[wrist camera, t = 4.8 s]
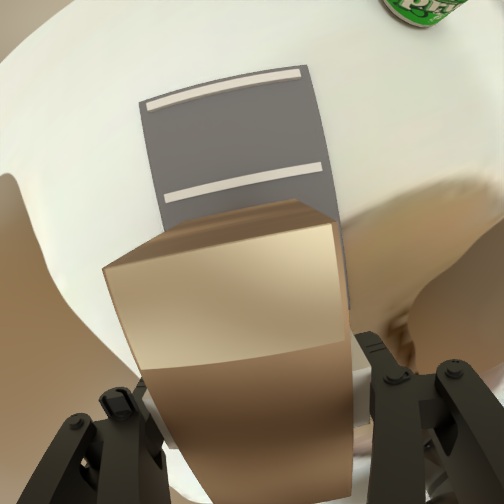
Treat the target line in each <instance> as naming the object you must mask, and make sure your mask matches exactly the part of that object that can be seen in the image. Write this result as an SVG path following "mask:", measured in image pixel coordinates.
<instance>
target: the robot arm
mask: <svg viewBox="0 0 504 504" xmlns="http://www.w3.org/2000/svg"><path fill="white" fill-rule="evenodd" d="M350 338H351V354H352V374H353V419H354V428H355V427H359V426H362V425H366V424H370V415H371V417H372V419H373V422H374V426H373V439H372V442H373V443H372V456H371V468H370V478H369V486H368V495H367V502H366V504H504V407H503V406H502V405H501V403H500V402H499V401H498V399H497V398H496V397H495V396H494V394H493V393H492V392H491V390H490V389H489V388H488V387H487V385H486V384H485V383H484V382H483V380H482V379H481V378H480V377H479V375H478V374H477V373H476V372H475V371H474V370H473V368H472V367H471V366H470V365H469V364H468V363H467V362H465V361H462V360H456V359H452V360H447V361H445V362H443V363H441V364H440V365H439V366H438V367H437V371H436V374H427V375H414V374H413V372H412V371H411V370H410V369H408V368H406V367H403V366H399V365H398V363H397V362H396V360H395V359H394V357H393V356H392V354H391V353H390V351H389V350H388V349H387V347H386V346H385V344H384V343H383V341H382V340H381V338H380V337H379V336H378V335H377V334H375V333H373V332H371V331H368V332H364V333H360V334H356V335H353V333H352V331H351V329H350ZM99 402H100V403H101V406H102V407H103V409H104V411H105V413H106V414H107V416H108V419H105V420H100V421H94V422H93V421H92V419H91V418H90V416H89V415H88V414H85V413H77V414H74V415H71V416H70V417H69V418H67V419H66V420H65V422H64V423H63V425H62V426H61V428H60V429H59V431H58V433H57V434H56V436H55V437H54V439H53V441H52V442H51V444H50V446H49V447H48V449H47V451H46V452H45V454H44V455H43V457H42V459H41V461H40V462H39V464H38V466H37V467H36V469H35V471H34V473H33V474H32V476H31V478H30V480H29V482H28V483H27V485H26V487H25V489H24V490H23V492H22V494H21V496H20V498H19V500H18V502H17V503H16V504H171V499H170V491H169V483H168V474H167V465H166V455H165V453H164V451H163V449H162V444H163V441H165V442H166V444H167V446H168V447H169V449H178V447H177V445H176V443H175V442H174V440H173V438H172V436H171V434H170V433H169V431H168V429H167V427H166V425H165V423H164V421H163V419H162V417H161V415H160V414H159V412H158V410H157V408H156V406H155V404H154V401H153V399H152V397H151V395H150V393H149V391H148V389H147V387H146V385H145V382H144V380H143V378H142V377H141V379H140V382H138V384H137V386H136V388H135V390H134V391H133V393H131V391H130V390H129V389H128V388H125V387H116V388H112V389H110V390H108V391H106V392H104V393H103V394H102V395H101V396H100V398H99ZM83 458H84V459H85V460H86V462H87V464H86V465H85V467H84V466H83V465H82V464H81V461H82V459H83ZM425 489H426V490H427V492H428V494H429V497H430V499H431V500H429V501H427V502H426V496H425Z"/></svg>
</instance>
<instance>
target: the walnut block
mask: <svg viewBox="0 0 504 504" xmlns="http://www.w3.org/2000/svg"><path fill="white" fill-rule="evenodd" d="M102 271H103V274H104V278H105V281H106V284H107V287H108V290H109V293H110V296H111V299H112V302H113V305H114V308H115V311H116V314H117V316H118V319H119V322H120V325H121V327H122V330H123V333H124V335H125V338H126V340H127V343H128V345H129V348H130V350H131V353H132V355H133V357H134V360H135V362H136V364H137V367H138V369H139V371H140V374H141V376H142V378H143V380H144V382H145V385H146V387H147V389H148V391H149V393H150V395H151V397H152V399H153V401H154V404H155V406H156V408H157V410H158V412H159V414H160V415H161V417H162V419H163V421H164V423H165V425H166V427H167V429H168V431H169V433H170V434H171V436H172V438H173V440H174V442H175V443H176V445H177V447H178V449H179V450H180V452H181V454H182V455H183V457H184V459H185V461H186V462H187V464H188V466H189V467H190V469H191V470H192V472H193V474H194V475H195V477H196V478H197V480H198V481H199V483H200V485H201V486H202V488H203V489H204V491H205V492H206V494H207V495H208V497H209V498H210V499H211V501H212V502H213V504H315V503H320V502H326V501H331V500H336V499H340V498H345V497H349V496H351V489H352V471H353V428H354V419H353V374H352V354H351V338H350V324H349V312H348V301H347V291H346V282H345V273H344V264H343V256H342V249H341V241H340V234H339V227H338V221H336V220H334V219H332V218H330V217H328V216H327V215H325V214H323V213H321V212H319V211H317V210H315V209H314V208H312V207H310V206H308V205H306V204H304V203H302V202H300V201H298V200H296V199H289V200H284V201H279V202H273V203H268V204H263V205H258V206H253V207H248V208H243V209H238V210H233V211H229V212H224V213H219V214H214V215H210V216H205V217H201V218H196V219H192V220H187V221H183V222H181V223H179V224H178V225H176V226H174V227H172V228H170V229H169V230H167V231H165V232H163V233H161V234H160V235H158V236H156V237H154V238H153V239H151V240H149V241H147V242H146V243H144V244H142V245H141V246H139V247H137V248H135V249H134V250H132V251H130V252H129V253H127V254H125V255H124V256H122V257H120V258H119V259H117V260H115V261H114V262H112V263H110V264H109V265H107V266H105V267H104V268H102Z"/></svg>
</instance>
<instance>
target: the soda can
mask: <svg viewBox="0 0 504 504" xmlns="http://www.w3.org/2000/svg"><path fill="white" fill-rule="evenodd" d="M383 1H384V2H385V4H386V5H387V7H388V8H389V9H390V10H391V11H392V13H393V14H395V15H396V16H397V17H399V18H400V19H402V20H404V21H405V22H407V23H410V24H412V25H415V26H419V27H430V26H433V25H435V24H436V23H438V22H439V21H440V20H442V19H443V18H444V17H446V16H447V15H448V14H450V13H451V12H452V11H454V10H455V9H456V8H458V7H459V6H461V5H462V4H463V3H465V2H466V1H467V0H383Z"/></svg>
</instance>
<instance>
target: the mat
mask: <svg viewBox="0 0 504 504" xmlns="http://www.w3.org/2000/svg"><path fill="white" fill-rule="evenodd" d="M139 108H140V114H141V120H142V126H143V132H144V137H145V143H146V148H147V154H148V159H149V164H150V169H151V173H152V178H153V183H154V188H155V192H156V197H157V201H158V205H159V210H160V214H161V218H162V222H163V227H164V231H167V230H169V229H170V228H172V227H174V226H176V225H178V224H179V223H181V222H183V221H187V220H192V219H196V218H201V217H205V216H210V215H214V214H219V213H224V212H229V211H233V210H238V209H243V208H248V207H253V206H258V205H263V204H268V203H273V202H279V201H284V200H289V199H296V200H298V201H300V202H302V203H304V204H306V205H308V206H310V207H312V208H314V209H315V210H317V211H319V212H321V213H323V214H325V215H327V216H328V217H330V218H332V219H334V220H336V221H338V227H339V234H340V241H341V249H342V256H343V264H344V273H345V282H346V291H347V301H348V310H350V301H349V290H348V280H347V271H346V262H345V254H344V246H343V239H342V232H341V225H340V218H339V211H338V205H337V199H336V193H335V187H334V181H333V176H332V171H331V165H330V160H329V155H328V150H327V145H326V140H325V136H324V131H323V127H322V122H321V118H320V113H319V109H318V105H317V101H316V97H315V93H314V89H313V85H312V81H311V77H310V74H309V70H308V66H307V65H300V66H292V67H284V68H277V69H270V70H264V71H258V72H253V73H247V74H242V75H237V76H232V77H228V78H223V79H219V80H214V81H210V82H206V83H202V84H198V85H194V86H191V87H187V88H183V89H180V90H176V91H173V92H170V93H166V94H163V95H160V96H157V97H154V98H151V99H148V100H145V101H142V102H139Z"/></svg>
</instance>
